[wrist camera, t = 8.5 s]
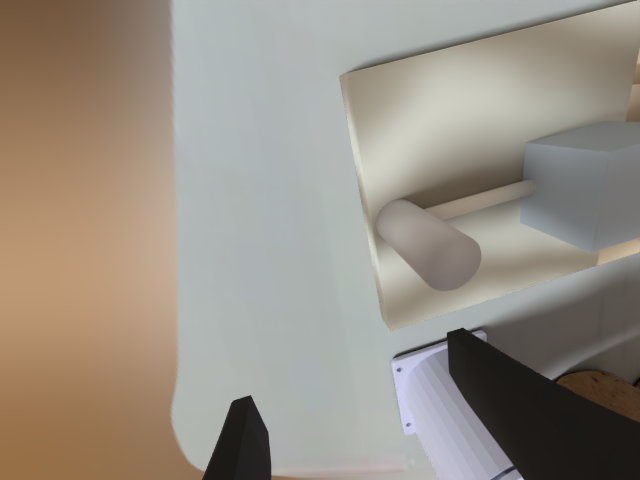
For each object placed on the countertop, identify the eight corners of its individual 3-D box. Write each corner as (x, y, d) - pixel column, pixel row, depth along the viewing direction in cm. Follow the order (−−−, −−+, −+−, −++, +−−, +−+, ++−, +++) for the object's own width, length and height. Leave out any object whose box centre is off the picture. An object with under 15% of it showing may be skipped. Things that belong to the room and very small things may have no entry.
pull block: (590, 201, 19) (704, 232, 14) (382, 263, 18) (427, 320, 13) (603, 121, 17) (743, 124, 12) (369, 185, 16) (418, 217, 11)
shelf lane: (689, 221, 24) (778, 243, 20) (382, 318, 22) (410, 364, 18) (772, -33, 17) (932, -78, 13) (339, 76, 15) (368, 63, 11)
